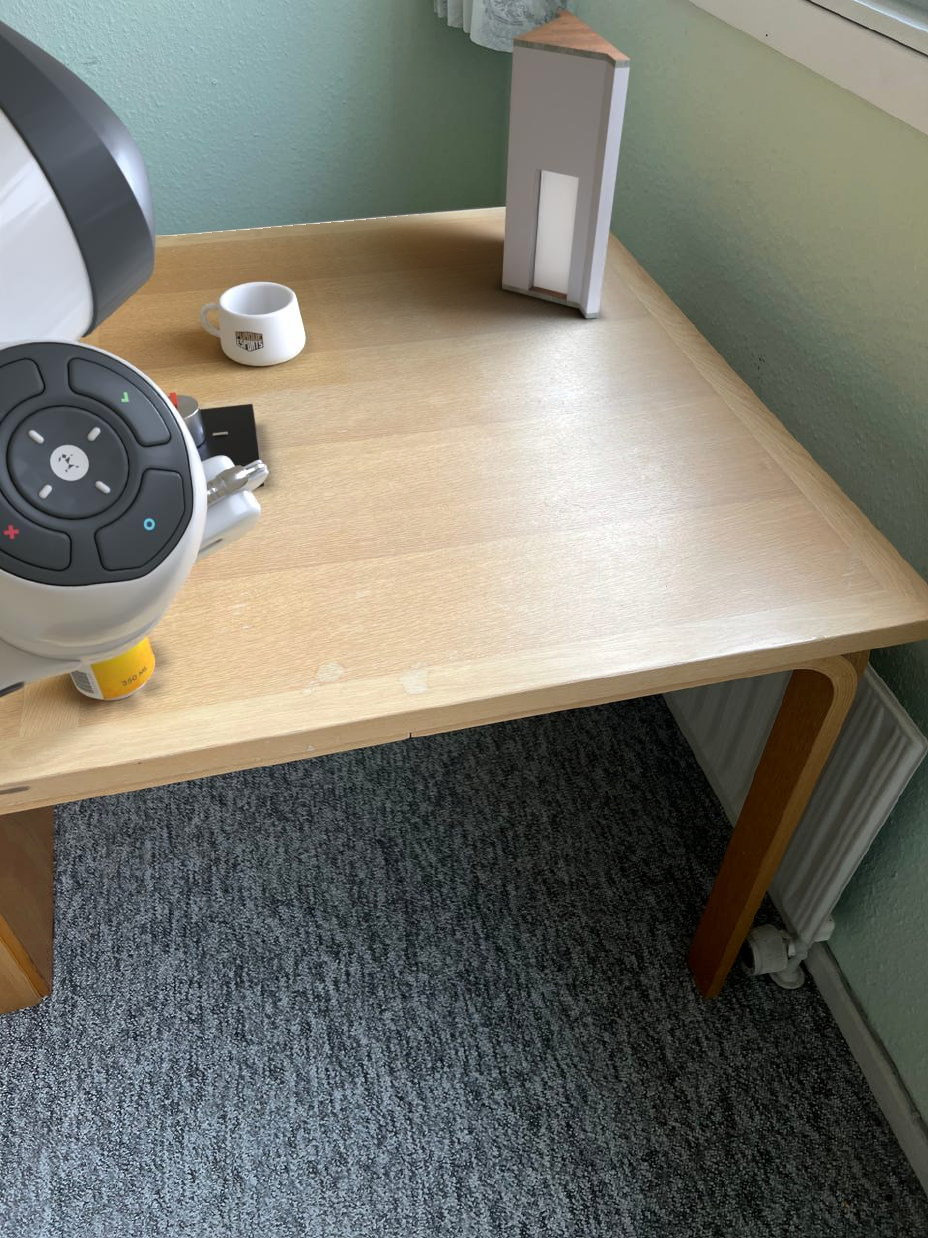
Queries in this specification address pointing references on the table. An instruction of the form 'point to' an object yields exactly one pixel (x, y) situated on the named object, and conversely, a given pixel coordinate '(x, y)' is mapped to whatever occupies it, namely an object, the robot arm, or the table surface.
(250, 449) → the panel
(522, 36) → the cabinet
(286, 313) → the mug
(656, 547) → the table surface
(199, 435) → the knob
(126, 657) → the beer can
